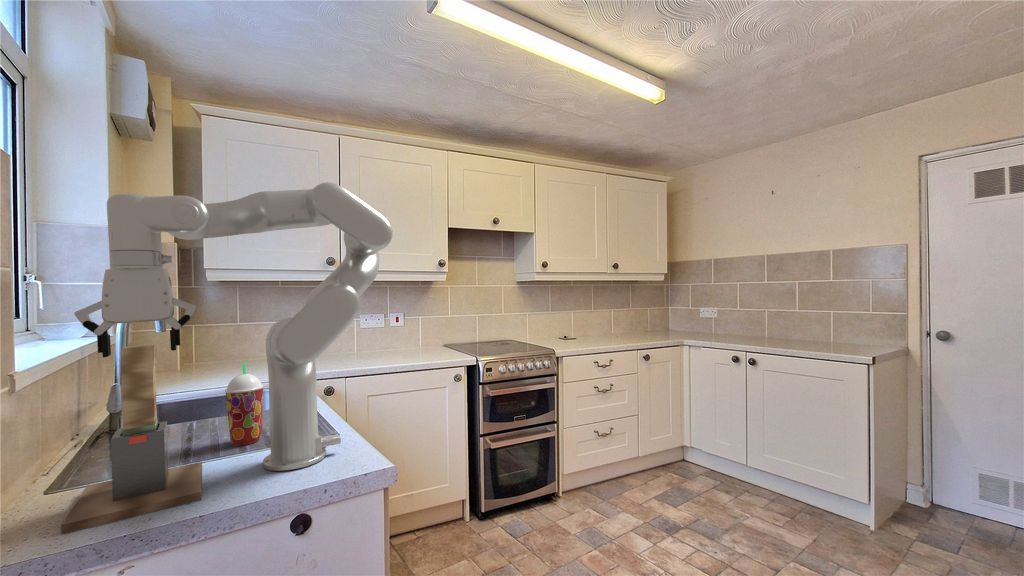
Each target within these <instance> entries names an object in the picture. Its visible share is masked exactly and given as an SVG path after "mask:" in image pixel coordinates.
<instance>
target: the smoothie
mask: <svg viewBox="0 0 1024 576" xmlns="http://www.w3.org/2000/svg"><path fill="white" fill-rule="evenodd" d="M246 369H247V367H246V362H242V374H239V375H237V376H235V377H233V378H232V379H231V380H230V381H229V383H228V385H227V387H226V389H225V390H224V393H225V401H226V410H227V419H228V428H229V439H230V441H232V445H233V446H237V447H242V446H249V445H252V444H255V443H257V442H259V440H260V437H261V435H262V434H263V433H262V432H263V428H262V427H263V408H264V407H263V405H264V384H263V383H262V382H261V380H260V378H258V377H257V376H256V375H255V374H251V373H246Z"/></svg>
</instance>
